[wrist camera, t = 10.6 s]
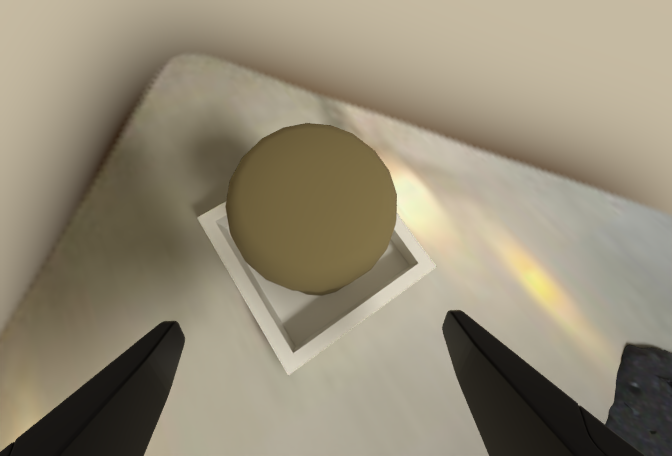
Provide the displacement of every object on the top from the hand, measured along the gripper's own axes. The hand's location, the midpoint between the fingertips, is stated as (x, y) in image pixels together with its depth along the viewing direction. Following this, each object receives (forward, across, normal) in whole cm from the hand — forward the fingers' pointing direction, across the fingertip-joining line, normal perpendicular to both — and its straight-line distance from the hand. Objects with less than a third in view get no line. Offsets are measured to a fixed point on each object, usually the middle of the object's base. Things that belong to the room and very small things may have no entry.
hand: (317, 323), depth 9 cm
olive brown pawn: (+8, 0, +3) cm, 9 cm away
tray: (+9, 0, +3) cm, 10 cm away
